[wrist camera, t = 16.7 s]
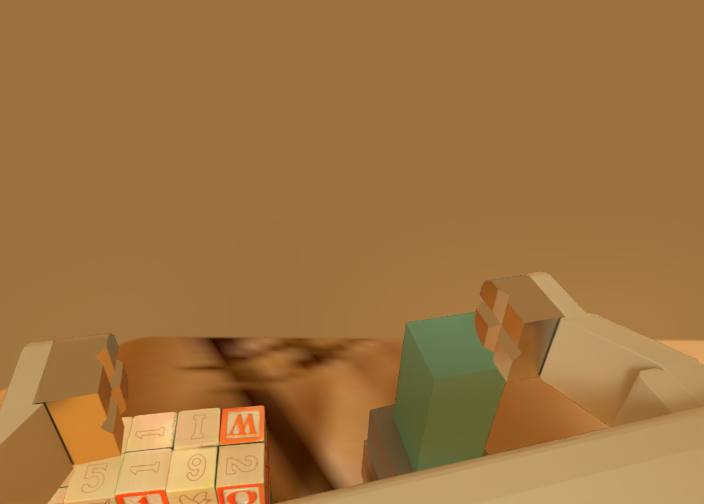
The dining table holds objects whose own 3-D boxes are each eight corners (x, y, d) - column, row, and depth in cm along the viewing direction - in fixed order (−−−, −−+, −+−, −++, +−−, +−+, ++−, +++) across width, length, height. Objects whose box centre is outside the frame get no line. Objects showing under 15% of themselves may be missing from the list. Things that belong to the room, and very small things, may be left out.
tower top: (481, 502, 39) (494, 464, 37) (398, 529, 38) (404, 491, 35) (441, 428, 45) (449, 390, 42) (366, 448, 43) (370, 410, 40)
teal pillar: (480, 461, 37) (510, 365, 31) (415, 476, 36) (434, 379, 30) (452, 406, 41) (474, 312, 35) (393, 417, 40) (405, 322, 34)
